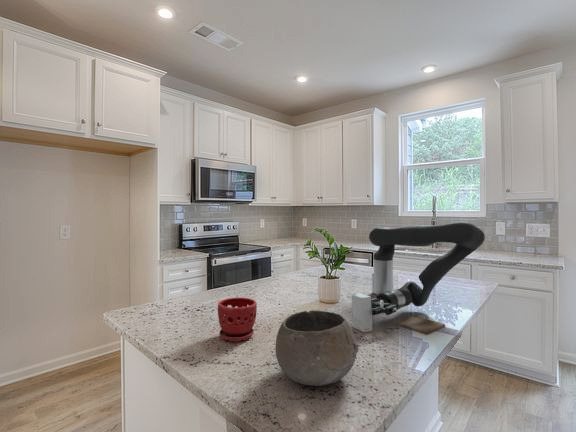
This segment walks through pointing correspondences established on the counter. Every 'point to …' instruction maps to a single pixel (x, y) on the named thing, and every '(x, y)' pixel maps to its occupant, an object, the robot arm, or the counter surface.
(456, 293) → the counter surface
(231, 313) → the plant pot
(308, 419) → the counter surface
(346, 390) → the counter surface
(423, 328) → the walnut board
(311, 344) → the clay pot
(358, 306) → the skincare box
